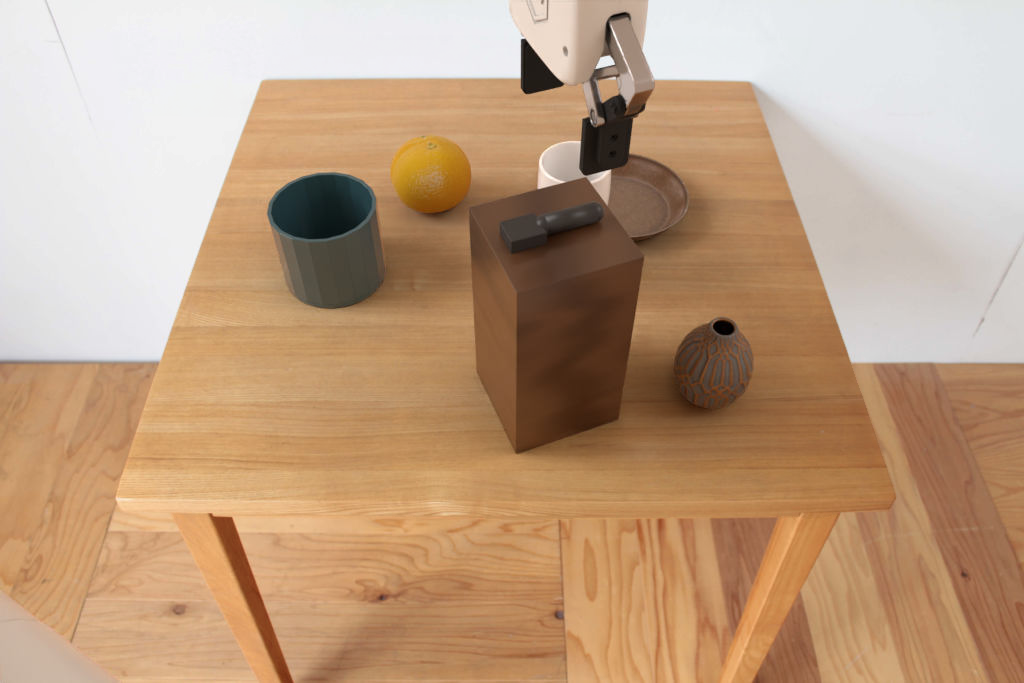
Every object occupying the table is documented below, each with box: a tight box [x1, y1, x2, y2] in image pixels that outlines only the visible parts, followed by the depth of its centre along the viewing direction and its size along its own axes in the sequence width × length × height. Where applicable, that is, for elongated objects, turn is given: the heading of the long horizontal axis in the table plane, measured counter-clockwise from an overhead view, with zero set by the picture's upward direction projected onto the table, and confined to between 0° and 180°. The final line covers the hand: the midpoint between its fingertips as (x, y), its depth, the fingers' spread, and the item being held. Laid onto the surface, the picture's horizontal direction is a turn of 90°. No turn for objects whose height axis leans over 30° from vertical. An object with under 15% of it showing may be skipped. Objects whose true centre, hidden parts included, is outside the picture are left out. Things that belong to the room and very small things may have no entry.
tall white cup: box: [536, 140, 612, 206], centre depth 83 cm, size 7×7×15 cm
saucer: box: [608, 152, 690, 242], centre depth 95 cm, size 15×15×3 cm
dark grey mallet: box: [500, 201, 604, 253], centre depth 63 cm, size 8×2×2 cm, turn 112°
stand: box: [468, 177, 645, 455], centre depth 71 cm, size 10×10×20 cm
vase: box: [672, 316, 755, 409], centre depth 76 cm, size 7×7×9 cm
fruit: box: [389, 134, 472, 214], centre depth 94 cm, size 9×8×8 cm
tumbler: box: [266, 171, 387, 309], centre depth 86 cm, size 10×10×9 cm
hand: (571, 126), depth 57 cm, fingers open, 9 cm apart
